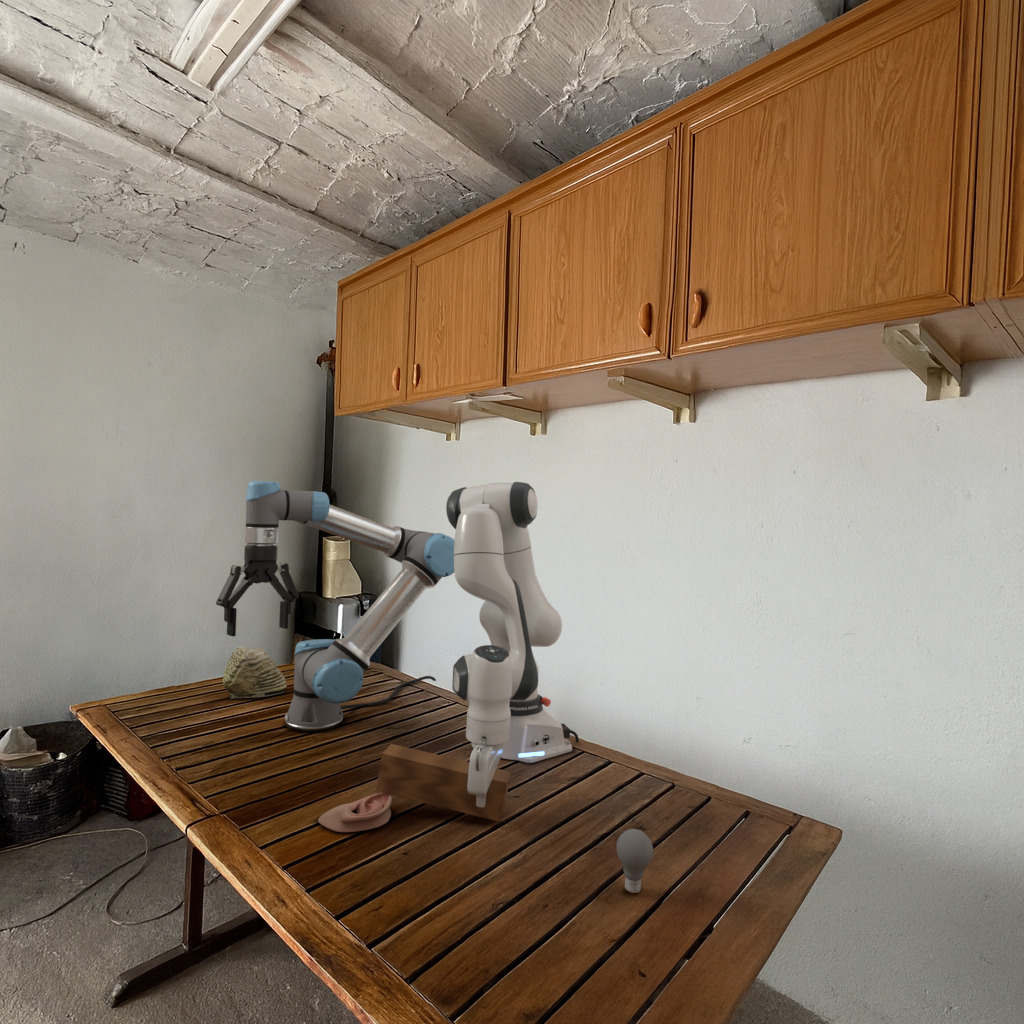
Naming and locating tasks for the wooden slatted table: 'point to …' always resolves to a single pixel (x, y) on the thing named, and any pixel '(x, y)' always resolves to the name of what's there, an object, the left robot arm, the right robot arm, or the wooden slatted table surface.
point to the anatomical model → (359, 814)
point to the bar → (438, 782)
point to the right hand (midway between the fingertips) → (484, 797)
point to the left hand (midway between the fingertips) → (258, 631)
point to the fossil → (252, 674)
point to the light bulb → (634, 857)
